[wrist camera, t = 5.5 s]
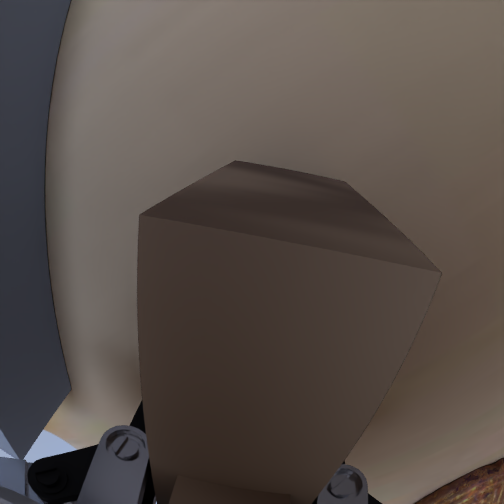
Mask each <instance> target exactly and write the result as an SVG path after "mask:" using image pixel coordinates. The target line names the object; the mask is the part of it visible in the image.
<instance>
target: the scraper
mask: <svg viewBox="0 0 504 504" xmlns="http://www.w3.org/2000/svg"><path fill="white" fill-rule="evenodd" d="M441 275H442V272H441V271H440V270H439V269H438V268H437V267H436V266H435V265H434V264H433V263H432V262H431V261H430V260H429V259H428V258H427V257H426V256H425V255H424V254H423V253H422V252H421V251H420V250H419V249H418V248H417V247H416V246H415V245H414V244H413V243H412V242H411V241H410V240H409V239H408V238H407V237H406V236H405V235H404V234H403V233H402V232H401V231H400V230H398V229H397V228H396V227H395V226H394V225H393V224H392V223H391V222H390V221H389V220H388V219H387V218H386V217H385V216H383V215H382V214H381V213H380V212H379V211H378V210H377V209H376V208H375V207H374V206H372V205H371V204H370V203H369V202H368V201H367V200H366V199H365V198H363V197H362V196H361V195H360V194H359V193H358V192H357V191H355V190H354V189H353V188H352V187H351V186H350V185H348V184H347V183H346V182H344V181H340V180H335V179H331V178H326V177H321V176H317V175H312V174H307V173H302V172H297V171H292V170H287V169H281V168H276V167H271V166H265V165H259V164H254V163H248V162H241V161H234V162H232V163H230V164H228V165H226V166H224V167H222V168H220V169H219V170H217V171H215V172H213V173H211V174H209V175H207V176H206V177H204V178H202V179H200V180H198V181H197V182H195V183H193V184H191V185H189V186H188V187H186V188H184V189H182V190H181V191H179V192H177V193H175V194H174V195H172V196H170V197H168V198H167V199H165V200H163V201H162V202H160V203H158V204H156V205H155V206H153V207H151V208H150V209H148V210H146V211H145V212H143V213H141V214H140V215H139V233H138V267H137V309H138V342H139V362H140V377H141V390H142V401H143V411H144V421H145V430H146V438H147V445H148V453H149V460H150V466H151V472H152V479H153V484H154V490H155V496H156V501H157V504H312V502H313V501H314V500H315V499H316V497H317V496H318V495H319V494H320V492H321V491H322V490H323V489H324V487H325V486H326V485H327V483H328V482H329V481H330V479H331V478H332V477H333V475H334V474H335V473H336V471H337V470H338V469H339V467H340V466H341V464H342V463H343V462H344V460H345V459H346V457H347V456H348V454H349V453H350V451H351V450H352V449H353V447H354V446H355V444H356V443H357V441H358V440H359V438H360V436H361V435H362V433H363V432H364V430H365V429H366V427H367V426H368V424H369V422H370V421H371V419H372V417H373V416H374V414H375V412H376V411H377V409H378V407H379V406H380V404H381V402H382V401H383V399H384V397H385V395H386V394H387V392H388V390H389V388H390V386H391V385H392V383H393V381H394V379H395V377H396V375H397V373H398V371H399V370H400V368H401V366H402V364H403V362H404V360H405V358H406V356H407V354H408V352H409V350H410V348H411V345H412V343H413V341H414V339H415V337H416V335H417V333H418V330H419V328H420V326H421V324H422V322H423V319H424V317H425V315H426V312H427V310H428V308H429V305H430V303H431V300H432V298H433V295H434V293H435V290H436V288H437V285H438V283H439V280H440V277H441Z"/></svg>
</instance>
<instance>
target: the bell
mask: <svg viewBox="0 0 504 504" xmlns="http://www.w3.org/2000/svg"><path fill="white" fill-rule="evenodd" d="M500 471H501V472H500ZM456 492H457V493H456ZM449 493H450V494H449ZM478 500H479V501H478ZM416 504H504V458H503V459H500V460H499V461H497V462H496V463H494V464H492V465H488V466H484V467H481V468H478V469H476V470H474V471H472V472H470V473H468V474H466V475H464V476H462V477H461V478H459V479H457V480H455V481H453V482H451V483H450V484H447V485H445V486H443V487H442V488H440V489H438V490H437V491H435V492H434V493H432V494H430V496H429V495H428V496H427V497H425V498H423V499H422V500H421V501H419V502H417V503H416Z"/></svg>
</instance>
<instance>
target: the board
mask: <svg viewBox="0 0 504 504" xmlns="http://www.w3.org/2000/svg"><path fill="white" fill-rule="evenodd" d="M70 1H71V0H0V449H2V450H3V451H5V452H6V453H8V454H9V455H11V456H12V457H14V458H16V459H22V460H23V459H24V457H25V456H26V454H27V453H28V451H29V450H30V448H31V446H32V445H33V443H34V442H35V441H36V439H37V438H38V436H39V435H40V433H41V432H42V430H43V429H44V427H45V426H46V425H47V423H48V422H49V420H50V419H51V417H52V416H53V414H54V413H55V412H56V410H57V409H58V407H59V406H60V405H61V403H62V402H63V400H64V399H65V398H66V396H67V395H68V393H69V392H70V391H71V385H70V382H69V378H68V374H67V370H66V366H65V362H64V357H63V353H62V348H61V344H60V339H59V334H58V329H57V323H56V318H55V312H54V305H53V299H52V292H51V284H50V276H49V267H48V257H47V245H46V229H45V197H44V182H45V151H46V135H47V123H48V113H49V105H50V97H51V89H52V83H53V76H54V70H55V65H56V59H57V54H58V49H59V45H60V40H61V36H62V32H63V27H64V23H65V19H66V16H67V12H68V8H69V5H70Z"/></svg>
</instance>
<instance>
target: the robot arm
mask: <svg viewBox="0 0 504 504" xmlns="http://www.w3.org/2000/svg"><path fill="white" fill-rule="evenodd" d="M0 504H156V496H155V490H154V484H153V479H152V472H151V466H150V460H149V453H148V445H147V438H146V430H145V421H144V411H143V401H141V403H140V405H139V407H138V409H137V411H136V413H135V415H134V418H133V420H132V422H131V424H130V426H127V425H121V426H115V427H113V428H110V429H109V430H107V431H106V432H105V433H104V434H103V436H102V437H101V439H100V442H99V444H98V445H94V446H90V447H87V448H83V449H79V450H75V451H72V452H67V453H63V454H59V455H54V456H51V457H46V458H42V459H39V460H36V461H35V462H34V463H27V462H26V460H22V459H13V458H5V457H0ZM312 504H382V503H380V502H379V501H378V500H376V499H375V498H374V497H372V496H371V495H370V494H368V484H367V480H366V478H365V476H364V474H363V473H362V472H361V471H360V470H359V469H357V468H355V467H353V466H351V465H346V464H345V460H344V462H343V463H342V464H341V466H340V467H339V469H338V470H337V471H336V473H335V474H334V475H333V477H332V478H331V479H330V481H329V482H328V483H327V485H326V486H325V487H324V489H323V490H322V491H321V492H320V494H319V495H318V496H317V497H316V499H315V500H314V501H313V502H312Z"/></svg>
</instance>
